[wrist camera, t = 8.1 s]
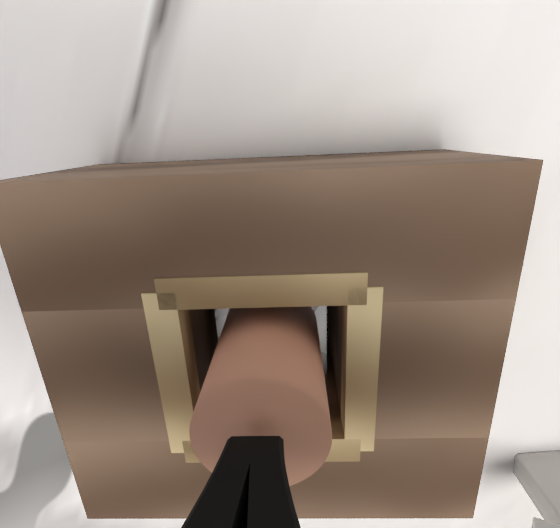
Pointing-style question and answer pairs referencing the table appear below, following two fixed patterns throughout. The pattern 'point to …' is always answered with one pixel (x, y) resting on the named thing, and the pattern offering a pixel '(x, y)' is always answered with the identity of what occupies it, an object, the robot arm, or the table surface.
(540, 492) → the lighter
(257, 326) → the peg
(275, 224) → the socket block
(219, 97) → the table surface
